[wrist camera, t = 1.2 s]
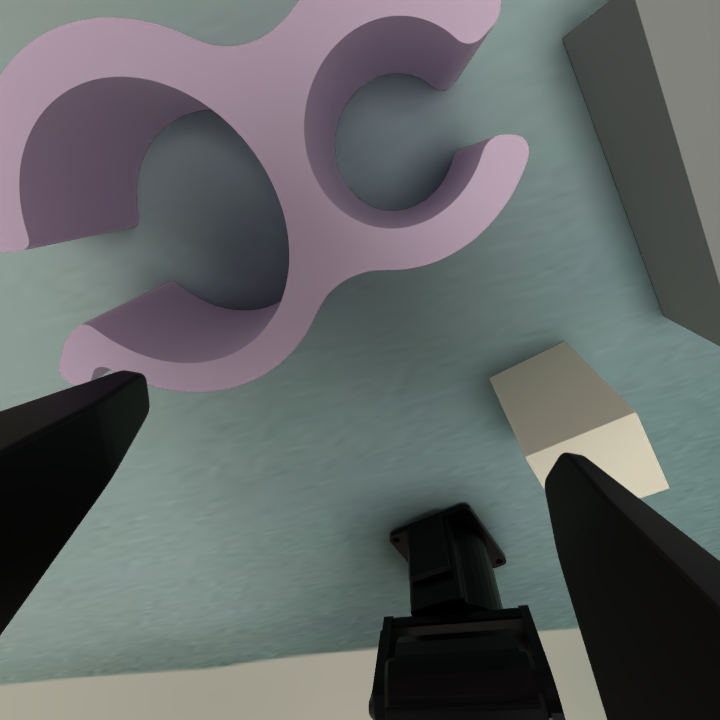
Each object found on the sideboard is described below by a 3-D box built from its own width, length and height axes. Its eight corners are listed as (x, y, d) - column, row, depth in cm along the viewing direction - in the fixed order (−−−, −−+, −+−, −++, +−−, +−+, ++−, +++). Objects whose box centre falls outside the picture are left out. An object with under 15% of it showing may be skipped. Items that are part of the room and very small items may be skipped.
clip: (429, -67, 15) (455, -242, 8) (502, 247, 19) (553, 281, 13) (44, 153, 19) (-123, 144, 13) (179, 363, 24) (104, 429, 18)
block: (593, 400, 23) (669, 488, 16) (520, 432, 24) (564, 523, 18) (564, 341, 21) (635, 412, 15) (488, 378, 23) (524, 457, 16)
